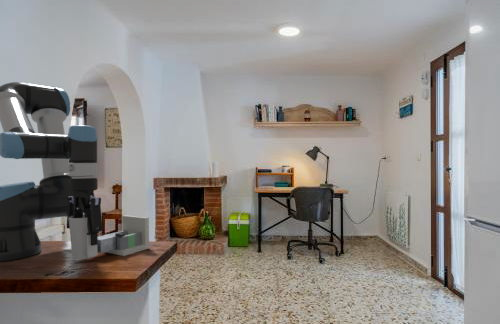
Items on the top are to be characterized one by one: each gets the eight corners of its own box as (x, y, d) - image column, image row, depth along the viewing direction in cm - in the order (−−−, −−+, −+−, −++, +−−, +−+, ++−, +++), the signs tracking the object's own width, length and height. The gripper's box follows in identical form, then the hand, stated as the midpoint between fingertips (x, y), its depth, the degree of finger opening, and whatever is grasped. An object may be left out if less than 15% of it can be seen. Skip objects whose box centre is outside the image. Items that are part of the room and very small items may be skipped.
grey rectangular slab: (91, 251, 96) (90, 235, 96) (113, 245, 103) (113, 230, 103) (106, 254, 92) (105, 238, 92) (128, 247, 99) (128, 233, 99)
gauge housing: (100, 251, 103) (100, 219, 103) (126, 244, 111) (125, 215, 111) (123, 255, 97) (123, 222, 97) (149, 248, 105) (148, 217, 105)
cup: (86, 261, 87) (85, 218, 87) (62, 259, 89) (61, 218, 89) (105, 253, 95) (104, 214, 95) (82, 252, 96) (82, 213, 97)
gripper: (52, 177, 94) (53, 252, 94) (91, 178, 84) (92, 262, 83) (77, 176, 101) (77, 247, 100) (115, 177, 90) (116, 255, 90)
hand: (84, 254), depth 92 cm, fingers closed on cup, 7 cm apart
